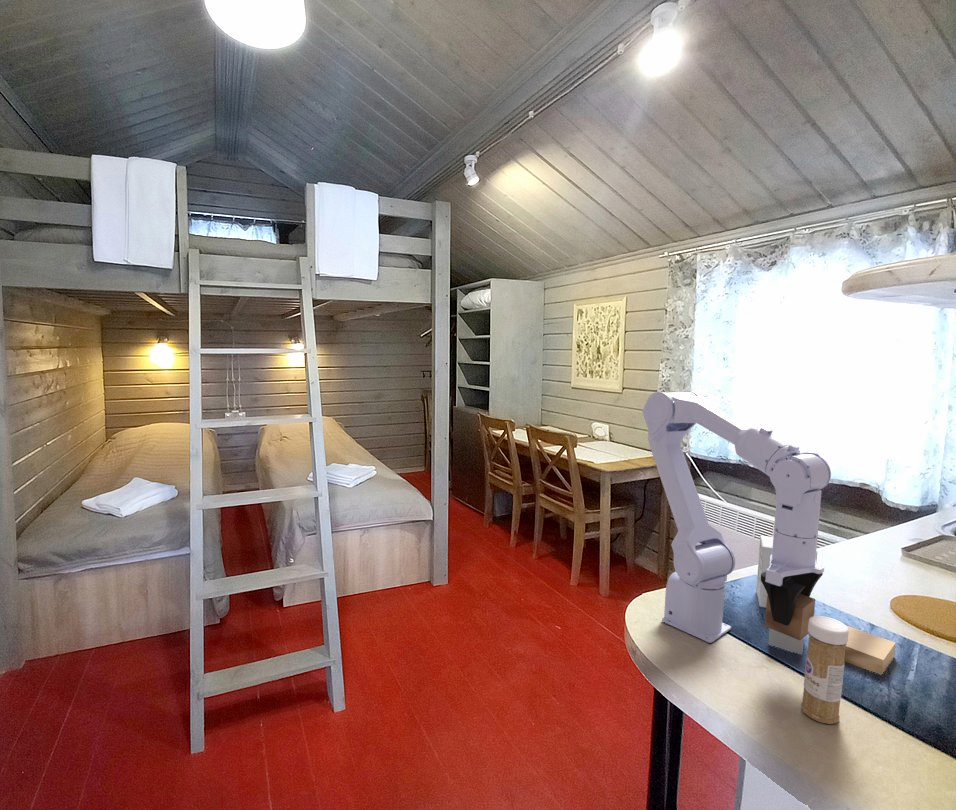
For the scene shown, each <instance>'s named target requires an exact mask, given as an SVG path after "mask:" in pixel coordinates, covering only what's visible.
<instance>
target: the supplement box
mask: <svg viewBox="0 0 956 810" xmlns="http://www.w3.org/2000/svg"><path fill="white" fill-rule="evenodd" d="M772 548H773V536H766V535H760V536H759V548H758V549H759V550H758V565H757V566H758V567H757V576H756V588H755V590H756V591H755V592H756V595H757V601H758V605H759V607H760V608H765V609H766V603H767V595H768V594H767V592H766V589H765V587H764V585H763V583H762V582H761V574H762V573H763V572H765V571H766V569H768V568H769V565H770V556H771V554H772Z"/></svg>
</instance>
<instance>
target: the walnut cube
mask: <svg viewBox="0 0 956 810" xmlns="http://www.w3.org/2000/svg"><path fill="white" fill-rule="evenodd" d="M815 607H816V598H813V597H812V596H810V597H808V596H805V595H802V594H800V595H799V596H798V599H797V601H796V604H795V607H794V611H793V616H792V619H791V621H790V623H789V625H788V626H786V625H784V624H781V623H778V622H776V621H774V620H773V617H772V612H771V607H770V602H769V598H768V595H767V603H766V608H765V617H764V627H765V628H768V629H769V628H770V629H773V630H775V631H778V632H780V633H783V634H785V635H788V636H790V637H793V638H795V639H798V640H801V639H802V638H804V639H805V637H806V636H807V635H809V632H808V624H809V619H810V618H811V617H813V616H815Z"/></svg>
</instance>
